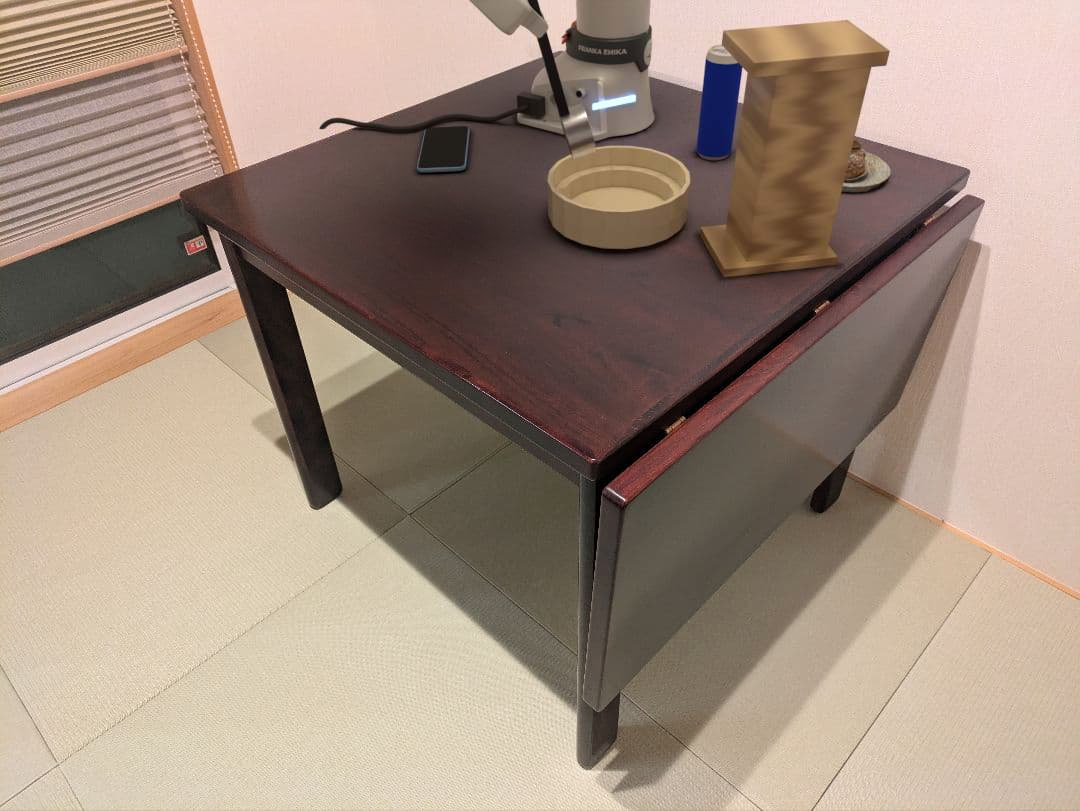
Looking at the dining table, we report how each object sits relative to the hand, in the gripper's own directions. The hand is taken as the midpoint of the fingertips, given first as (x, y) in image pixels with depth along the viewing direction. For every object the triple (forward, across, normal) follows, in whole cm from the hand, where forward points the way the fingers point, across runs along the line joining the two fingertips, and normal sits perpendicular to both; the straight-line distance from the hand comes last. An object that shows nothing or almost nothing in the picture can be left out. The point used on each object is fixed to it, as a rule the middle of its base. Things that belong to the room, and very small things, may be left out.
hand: (541, 27), depth 88 cm
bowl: (+24, 0, +11) cm, 27 cm away
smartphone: (+9, +26, +26) cm, 38 cm away
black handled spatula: (+4, 0, +3) cm, 5 cm away
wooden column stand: (+36, -11, -1) cm, 38 cm away
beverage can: (+37, +16, -2) cm, 40 cm away
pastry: (+48, +6, -13) cm, 51 cm away
